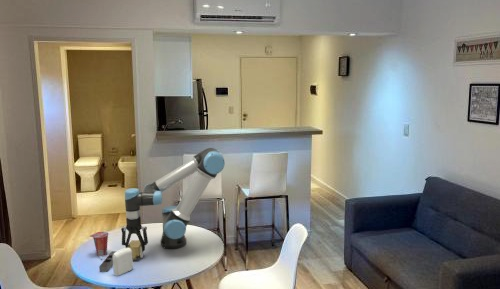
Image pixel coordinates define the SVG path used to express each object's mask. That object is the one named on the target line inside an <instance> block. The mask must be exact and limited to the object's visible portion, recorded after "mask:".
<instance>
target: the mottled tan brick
mask: <svg viewBox="0 0 500 289" xmlns="http://www.w3.org/2000/svg"><path fill="white" fill-rule="evenodd" d="M140 246H141V243H140V241H139V239H137V240H136V239H134V240H131V241H129V244H128V246H127V248H130V249H131V251H132V260H133V262H135V261H137V258H138V257H139V256H141V251H140Z"/></svg>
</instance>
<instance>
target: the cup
mask: <svg viewBox="0 0 500 289" xmlns="http://www.w3.org/2000/svg"><path fill="white" fill-rule="evenodd" d="M89 237H91V238H92V239H93V242H94V247H95V252H96V256H97V257H105V256H106V255H107V252H108V240H109V239H108V238H109V232H107V231H98V232H94V233H92V234H91V235H89Z"/></svg>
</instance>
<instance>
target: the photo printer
mask: <svg viewBox="0 0 500 289" xmlns="http://www.w3.org/2000/svg"><path fill="white" fill-rule="evenodd" d="M116 251H117V252H115V253H114V254H113V256H112V258H113V265H112V267H113V275H114V276H116V277H118V276H121V275H123V274H126V273H127V272H130V271H132V270H133V269H134V263H133V262H134V261H133V256H132V251H131V249H130V248H126V247H124V248H121V249H119V250H116Z"/></svg>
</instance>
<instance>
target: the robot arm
mask: <svg viewBox="0 0 500 289" xmlns="http://www.w3.org/2000/svg"><path fill="white" fill-rule="evenodd" d="M225 163H226V162H225V158H224V156H223V154H222V153H220V152H219V151H218V150H217V149H216V148H214V147H208V148H205V149H203V150H201V151H200V152H198V153H196V154H195V155H193V157H192V158H191V159H190V160H188V161H187V162H185V163H184V164H181V165H180V166H178V167H176V168H175V169H173V170H172V171H170V172H169V173H167V174H165V175H163V176H162V177H160V178H158V179H157V180H155V181H153V182H151V183H147V184H145V186H144V188H143V191H142V192H140V189H138V188H132V187H131V188H128V189H126V190H125V191H124V205H125V217H126V218H125V219H126V222H125V223H126V226H122V227H121V229H120V230H121V245H122V246H125V247H124V248H127V246H128V245H129V243H130V242H131V241H130V240H131V237H132V235H133V234H135V235H136V237H137V238H138V240H139V241H140V243H141V246H140V251H141V254H140V258H141V259H142V258H143V257H144V252H145V251H146V246H147V245H148V243H149V239H148V233H147V229H148V227H147V226H142V221H141V220H142V219H141V207H145V206H147V207H148V206H158V205H159V206H160V205H162V203H163V196H162V195H163V194H162V193H164V192H165V191H167V190H168V189H171V188H172V187H173V186H175V185H176V184H178V183H180V182H181V181H183V180H185V179H187V178H188V177H190V176H192V175H194V174H195V173H196V172H197V173H196V175H195V176H194V177H193V179H192V181H191V183H190V184H189V186H188V188H187V189H186V191H185V192H184V194H183V196H182V198H181V199H180V201H179V203H178V205H169V206H164V207H163V208H162V209H161V215H162V216H161V217H162V235H161V238H160V247H161V248H163V249H167V250H175V249H181V248H183V247H184V246H186V245H187V237H186V236H185V234H186V232H187V227H188V224H189V223H190V221H191V217H190V215H191V214H192V212H193V210H195V207H196V205H197V204H198V202H199V200H200V199H201V197H202V196H203V193H204V192H205V191H206V189H207V187H208V185H209V184H210V183H211V181H212V179H215V178H216V177H217V176H218V174H219V173H221V172H222V171H223V170H224V168H225ZM127 231H128V232H127ZM126 233H127V234H126ZM126 235H127V236H126ZM142 235H143V236H142Z"/></svg>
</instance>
